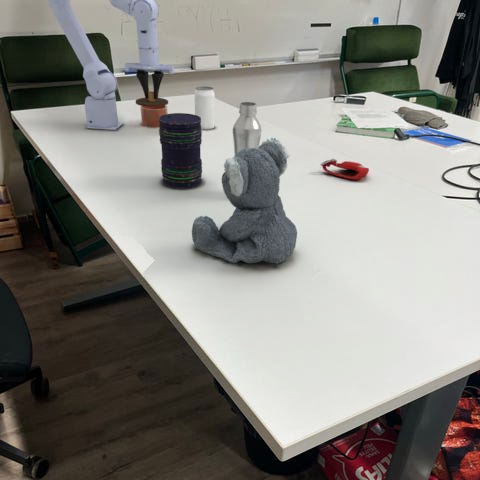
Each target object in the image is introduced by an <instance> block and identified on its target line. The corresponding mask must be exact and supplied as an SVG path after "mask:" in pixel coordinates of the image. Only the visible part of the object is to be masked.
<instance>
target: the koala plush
mask: <svg viewBox="0 0 480 480" xmlns="http://www.w3.org/2000/svg"><path fill="white" fill-rule="evenodd" d="M234 155H235V154H234ZM290 156H291V155H290V154H289V153H288V151H287V150H286V147H285V146H284V145H283V143H282V142H281V141H280V140H279V139H276V137H271V138H270V139H269V138H267V139H266V140H263V141H262V142H261V144H259V147H258V149H256V148H248V149H242V150H241V151H239V152H238V153H237V154H236V155H235V156H232V157H228V158H226V159H225V161H224V163H223V168H224V169H223V170H224V172H223V174H222V176H221V185H222V190H223V192H224V194H225V196H226V198H227V200H228V201H229V202H230V204H231V205H232V206H233V207H234V208H235V209H234V210H233V212H232V215H230V216H229V218H228V219H227V220H225V221H224V222H223V223H222V224H221V226H220V227H218V226H217V224H216V222H215V221H214V219H213V218H211V217H209V216H207V215H205V216H203V215H199V216H197V217H196V218H195V219H193V220H194V221H193V222H192V227H191V238H192V239H191V240H192V242H193V244H194V245H195V247H196V249H197V250H199V251H200V252H202V253H204V254H207V255H210V256H213V257H218V258H220V259H223V260H224V261H227V262H228V263H232V264H237V263H239V262H240V261H242V262H244V263H246V264H255V263H259V262H265V263H268V264H275V265H278V264H280V263H283V262H285V261H286V260H287V259H288V258H289V257H291V256H292V255H293V253H294V251H295V249H296V246H297V245H296V244H297V238H298V230H297V227H296V225H295V224H294V222H293V221H292V220H291V219H290V218H289V217H287V214H286V211H285V210H284V205H283V201H282V198H281V196H280V195H279V192H280V183H281V178H280V177H281V176H282V175H284V174H285V172H286V170H287V168H288V159H289V157H290Z"/></svg>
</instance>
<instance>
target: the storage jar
mask: <svg viewBox="0 0 480 480" xmlns="http://www.w3.org/2000/svg"><path fill="white" fill-rule="evenodd" d="M159 123H160V124H159V127H158V128H159V129H158V133H159V134H158V135H159V143H160V145H161V146H160V147H161V159H160V165H161V167H160V168H161V169H160V170H161V176H162V184H163V186H166V187H167V188H169V189H175V190H188V189H189V190H191V189H195V188H197V187H200V186H201V185H202V183H203V179H202V176H203V175H202V173H203V160H202V158H201V145H202V142H203V139H202V137H203V135H202V134H203V133H202V132H203V130H202V129H201V124H200V123H201V118H200V117H199V116H197V115H195V114H193V113H184V112H174V113H173V112H172V113H168V114H165V115H162V116H160V117H159Z"/></svg>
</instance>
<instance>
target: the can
mask: <svg viewBox="0 0 480 480" xmlns="http://www.w3.org/2000/svg"><path fill="white" fill-rule="evenodd" d="M215 109H216V94H215V91H214V87H212V86H206V85H205V86H203V85H202V86H196V87H195V91H194V115H197V116H199V117H200V118H201V123H200V124H201V130H202V131H207V130H212V129H214V128H215V124H216V123H215V121H216V120H215V119H216V118H215V117H216V110H215Z"/></svg>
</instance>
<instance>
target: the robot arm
mask: <svg viewBox="0 0 480 480" xmlns="http://www.w3.org/2000/svg"><path fill="white" fill-rule="evenodd" d="M47 1H48V2H47V3H48V5H49V8H50V10H51V11H52V13H53V15H54V17H55V19H56V21H57V22H58V24H59V26H60V28H61V30H62V31H63V33H64V35H65V37H66V39H67V40H68V42H69V44H70V46H71V48H72V49H73V51H74V53H75V55H76V57H77V59H78V60H79V62H80V64H81V66H82V68H83V73H82V78H83V79H84V81H85V85H86V90H87V92H88V94H89V95H90V96H86V97H85V99H84V111H85V117H86V124H87V126H86V128H87V129H93V130H107V131H116V130H117V129H119V128H120V127H121V126H122V125H124V123H123V122H122V121H121V122H119V116H118V107H117V106H118V105H117V98H116V91H117V89H118V87H119V84H118V79H117V77H116V76H115V74H114V73H112V72H111V71H110V69H109V68H108V66H107V65H106V64H105V63H104V62H103V61H101V60H100V58H99V56H98V54H97V53H96V51H95V49H94V47H93V45H92V43H91V41H90V39H89V38H88V36H87V34H86V32H85V30H84V28H83V27H82V24H81V23H80V21H79V19H78V17H77V16H76V13H75V12H74V9H73V7H72V5H71V3H72V0H47ZM109 2H110V4H111V6H112V7H114V8H116V9H118V10H120V11H122V12H124V13H125V14H127V15H129V16H131V17H133V19H134V20H135V21H136V22H135V23H136V34H137V35H136V36H137V47H138V61H139V62H126V63H124V70H125V72H136V74H135V75H136V78H137V79H138V82H139V83H140V85H141V88H142V91H143V94H144V98H147V99H148V92H150V88H149V73H151V79H152V85H153V92H154V99H157V98H159V93H160V87H161V83H162V80H163V78H164V75H165V74H168V75H174V74H175V65H169V64H162V63H160V57H159V56H160V55H159V42H158V41H159V38H158V24H157V23H158V21H157V19H158V17H159V15H160V10H159V5H158V4H157V2H156V1H155V0H109Z"/></svg>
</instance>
